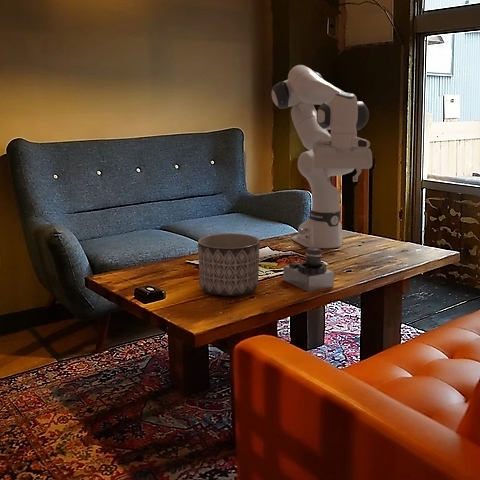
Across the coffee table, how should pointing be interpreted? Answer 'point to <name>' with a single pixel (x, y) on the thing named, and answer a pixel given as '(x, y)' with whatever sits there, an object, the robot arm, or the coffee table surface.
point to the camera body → (308, 276)
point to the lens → (313, 257)
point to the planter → (228, 263)
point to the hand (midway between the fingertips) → (341, 181)
